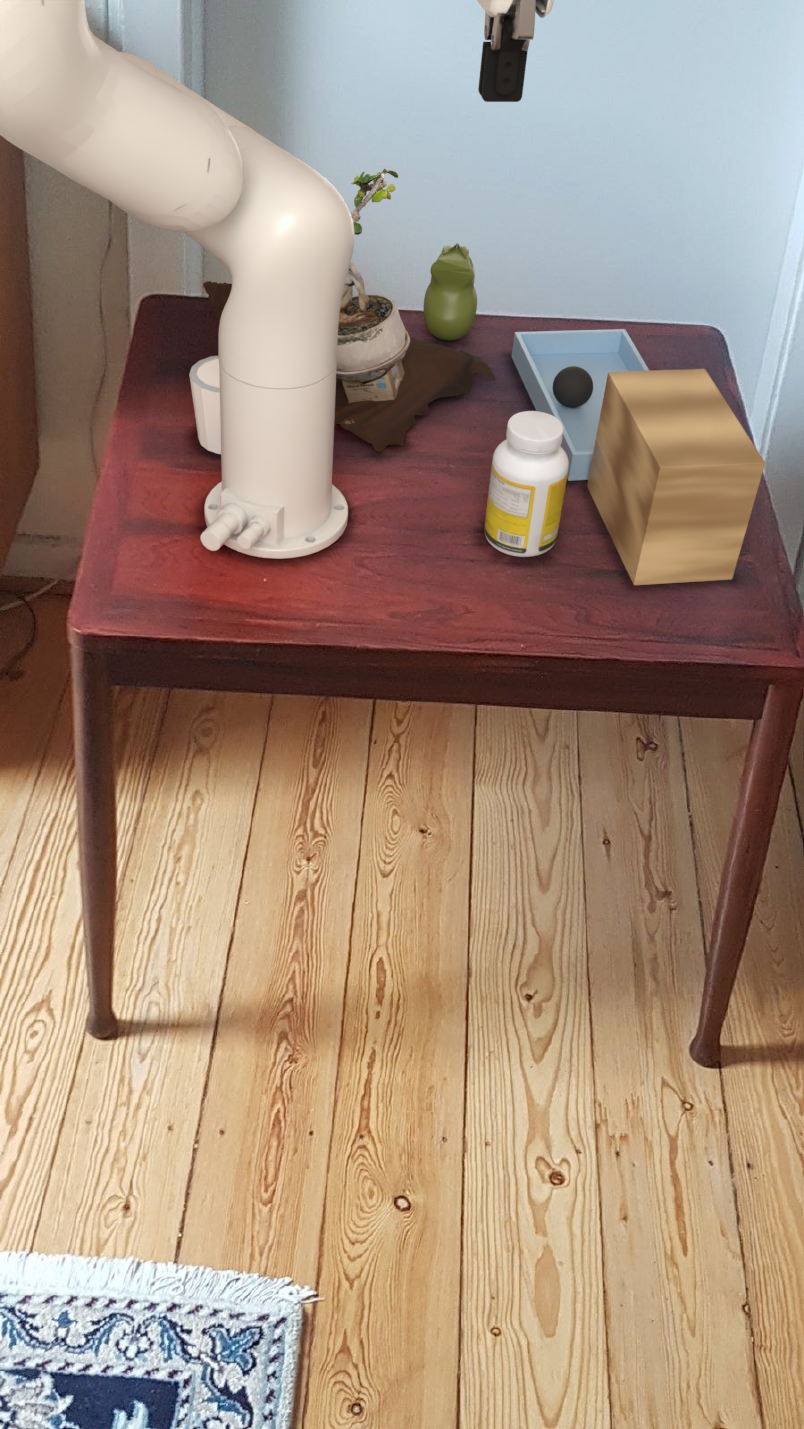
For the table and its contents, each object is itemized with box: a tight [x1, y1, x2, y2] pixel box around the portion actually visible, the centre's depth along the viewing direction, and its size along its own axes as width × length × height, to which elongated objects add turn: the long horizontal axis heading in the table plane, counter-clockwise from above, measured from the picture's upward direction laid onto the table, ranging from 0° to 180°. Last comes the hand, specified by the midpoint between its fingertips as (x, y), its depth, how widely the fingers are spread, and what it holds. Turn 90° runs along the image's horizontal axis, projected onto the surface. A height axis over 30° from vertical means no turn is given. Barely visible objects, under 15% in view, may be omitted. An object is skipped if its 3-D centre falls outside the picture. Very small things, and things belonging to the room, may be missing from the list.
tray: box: [510, 328, 650, 482], centre depth 142 cm, size 23×12×3 cm, turn 10°
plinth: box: [586, 368, 766, 586], centre depth 125 cm, size 15×9×12 cm, turn 10°
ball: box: [553, 366, 593, 408], centre depth 142 cm, size 4×4×4 cm
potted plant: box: [202, 168, 496, 452], centre depth 138 cm, size 20×19×25 cm
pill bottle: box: [483, 410, 569, 558], centre depth 123 cm, size 6×6×12 cm
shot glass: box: [188, 355, 221, 455], centre depth 133 cm, size 7×7×7 cm
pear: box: [422, 242, 478, 342], centre depth 149 cm, size 6×5×10 cm
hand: (499, 97), depth 114 cm, fingers closed
